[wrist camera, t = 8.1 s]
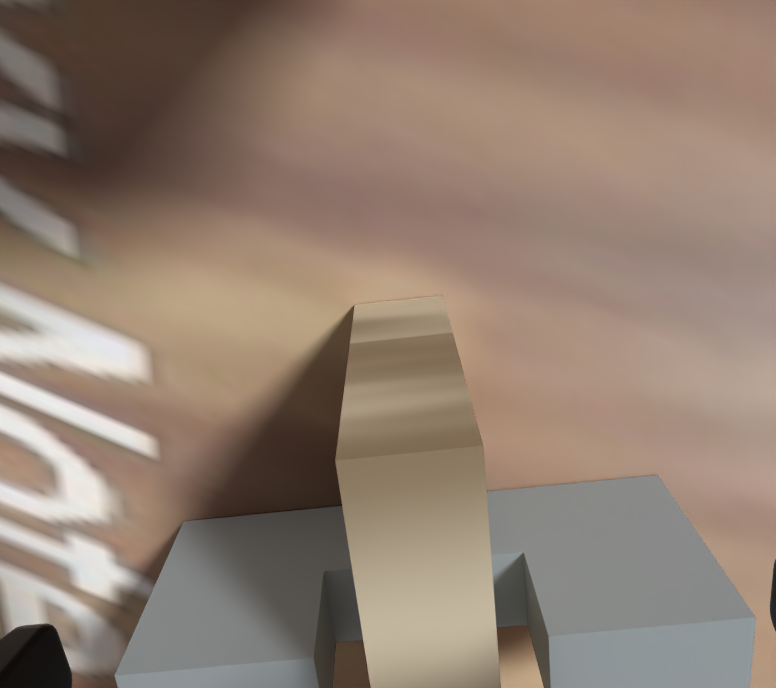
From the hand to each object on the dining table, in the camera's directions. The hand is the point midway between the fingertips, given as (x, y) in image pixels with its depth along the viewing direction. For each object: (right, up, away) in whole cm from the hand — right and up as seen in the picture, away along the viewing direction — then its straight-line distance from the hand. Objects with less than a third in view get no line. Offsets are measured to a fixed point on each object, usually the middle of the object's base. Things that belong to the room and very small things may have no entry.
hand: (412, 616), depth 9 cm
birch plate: (+1, -1, +9) cm, 9 cm away
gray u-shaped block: (+1, -1, +9) cm, 10 cm away
